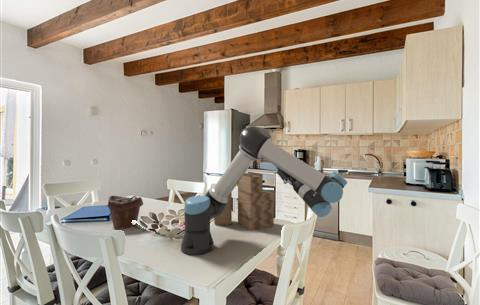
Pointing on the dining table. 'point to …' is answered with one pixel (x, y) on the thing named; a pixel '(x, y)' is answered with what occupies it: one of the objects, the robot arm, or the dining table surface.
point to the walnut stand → (254, 202)
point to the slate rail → (268, 166)
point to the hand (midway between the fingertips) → (278, 162)
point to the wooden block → (225, 214)
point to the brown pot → (124, 210)
